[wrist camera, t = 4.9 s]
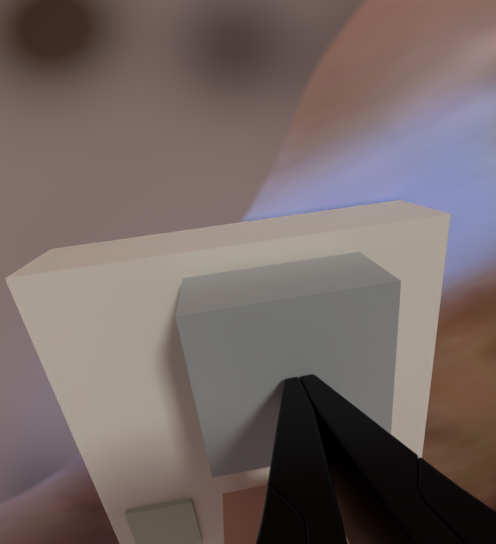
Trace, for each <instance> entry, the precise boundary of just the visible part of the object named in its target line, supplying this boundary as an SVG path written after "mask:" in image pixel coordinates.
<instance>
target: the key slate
mask: <svg viewBox="0 0 496 544" xmlns="http://www.w3.org/2000/svg"><path fill="white" fill-rule="evenodd" d="M400 290H401V280H399V279H398V278H396V277H395V276H394V275H392V274H391V273H389V272H388V271H386V270H385V269H383V268H382V267H381V266H379V265H378V264H376V263H375V262H373V261H372V260H371V259H369V258H368V257H366V256H365V255H363V254H362V253H361V252H354V253H348V254H341V255H334V256H327V257H321V258H314V259H307V260H301V261H294V262H287V263H281V264H274V265H267V266H261V267H254V268H247V269H241V270H234V271H227V272H220V273H214V274H207V275H200V276H194V277H187V278H183V280H182V285H181V290H180V295H179V300H178V305H177V310H176V315H175V317H176V321H177V326H178V330H179V335H180V339H181V343H182V348H183V352H184V356H185V361H186V365H187V370H188V374H189V378H190V383H191V387H192V391H193V396H194V400H195V405H196V409H197V413H198V418H199V422H200V426H201V431H202V435H203V440H204V444H205V448H206V453H207V457H208V461H209V466H210V470H211V474H212V478H213V477H218V476H223V475H229V474H234V473H239V472H245V471H250V470H255V469H261V468H266V467H270V464H271V458H272V452H273V446H274V439H275V433H276V427H277V421H278V414H279V408H280V402H281V395H282V389H283V383H284V380H285V379H286V378H292V377H298V378H300V376H304V375H309V374H314V375H316V376H317V377H318V378H320V379H321V380H322V381H323V382H325V383H326V384H327V385H329V386H330V387H331V388H332V389H334V390H335V391H336V392H338V393H339V394H340V395H341V396H343V397H344V398H345V399H347V400H348V401H349V402H350V403H352V404H353V405H354V406H356V407H357V408H358V409H359V410H361V411H362V412H363V413H364V414H366V415H367V416H368V417H370V418H371V419H372V420H373V421H375V422H376V423H377V424H379V425H380V426H381V427H382V428H384V429H385V430H386V431H388V432H389V433H390V434H391V426H392V411H393V396H394V381H395V366H396V350H397V335H398V320H399V305H400Z"/></svg>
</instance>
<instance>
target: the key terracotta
mask: <svg viewBox="0 0 496 544" xmlns="http://www.w3.org/2000/svg"><path fill="white" fill-rule="evenodd" d="M267 487H268V486H267V485H264V486H259V487H254V488H249V489H243V490H238V491H233V492H228V493H223V494H222V497H223V524H224V544H255V542H256V539H257V535H258V531H259V527H260V522H261V516H262V511H263V506H264V501H265V494H266V488H267ZM345 535H346V534H345ZM346 539H347V537H346ZM347 543H348V544H349V542H348V539H347Z"/></svg>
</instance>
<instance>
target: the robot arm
mask: <svg viewBox="0 0 496 544" xmlns="http://www.w3.org/2000/svg"><path fill="white" fill-rule="evenodd" d="M267 486H268V487H267V488H266V494H265V501H264V506H263V511H262V516H261V522H260V527H259V531H258V535H257V539H256V542H255V544H348V543H347V539H348V542H349V544H496V511H494V510H493V509H491V508H490V507H488V506H487V505H485V504H484V503H482V502H481V501H480V500H478V499H477V498H475V497H474V496H472V495H471V494H469V493H468V492H466V491H465V490H464V489H462V488H461V487H459V486H458V485H457V484H455V483H454V482H453V481H451V480H450V479H449V478H447V477H446V476H444V475H443V474H442V473H440V472H439V471H438V470H436V469H435V468H434V467H433V466H431V465H430V464H429V463H427V462H426V461H425V460H424V459H422V458H421V457H419V458H418V455H417V454H416V453H414V452H413V451H412V450H411V449H409V448H408V447H407V446H405V445H404V444H403V443H402V442H400V441H399V440H398V439H396V438H395V437H394V436H393V435H391V434H390V433H389V432H388V431H386V430H385V429H384V428H382V427H381V426H380V425H379V424H377V423H376V422H375V421H373V420H372V419H371V418H370V417H368V416H367V415H366V414H364V413H363V412H362V411H361V410H359V409H358V408H357V407H356V406H354V405H353V404H352V403H350V402H349V401H348V400H347V399H345V398H344V397H343V396H341V395H340V394H339V393H338V392H336V391H335V390H334V389H332V388H331V387H330V386H329V385H327V384H326V383H325V382H323V381H322V380H321V379H320V378H318V377H317V376H316V375H314V374H309V375H304V376H300V378H298V377H292V378H286V379H285V380H284V383H283V389H282V395H281V402H280V408H279V414H278V421H277V427H276V433H275V439H274V446H273V452H272V458H271V464H270V471H269V477H268V483H267ZM345 534H346V535H345ZM346 537H347V539H346Z"/></svg>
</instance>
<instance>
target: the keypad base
mask: <svg viewBox="0 0 496 544" xmlns="http://www.w3.org/2000/svg"><path fill="white" fill-rule="evenodd" d="M450 215H451V214H449V213H445V212H441V211H438V210H434V209H431V208H427V207H423V206H420V205H416V204H412V203H409V202H405V201H402V200H397V201H390V202H382V203H375V204H368V205H361V206H354V207H347V208H340V209H333V210H326V211H318V212H311V213H304V214H297V215H290V216H283V217H276V218H269V219H262V220H254V221H247V222H240V223H234V224H226V225H219V226H212V227H205V228H197V229H190V230H183V231H176V232H169V233H162V234H155V235H148V236H141V237H133V238H126V239H120V240H112V241H105V242H98V243H92V244H84V245H77V246H69V247H62V248H55V249H50V250H49V251H47V252H46V253H44V254H43V255H41V256H39V257H38V258H36V259H35V260H33V261H32V262H30V263H29V264H27V265H25V266H24V267H22V268H21V269H19V270H18V271H16V272H14V273H13V274H11V275H10V276H8V277H7V278H5V280H6V282H7V284H8V287H9V289H10V291H11V294H12V296H13V298H14V300H15V303H16V305H17V307H18V309H19V312H20V314H21V317H22V319H23V321H24V324H25V326H26V328H27V330H28V333H29V335H30V337H31V340H32V342H33V345H34V347H35V349H36V351H37V354H38V356H39V358H40V361H41V363H42V365H43V368H44V370H45V372H46V375H47V377H48V379H49V381H50V384H51V386H52V388H53V391H54V393H55V395H56V398H57V400H58V402H59V404H60V407H61V409H62V412H63V414H64V416H65V419H66V421H67V423H68V426H69V428H70V430H71V433H72V435H73V437H74V439H75V442H76V444H77V446H78V449H79V451H80V453H81V456H82V458H83V460H84V463H85V465H86V467H87V470H88V472H89V474H90V476H91V479H92V481H93V483H94V486H95V488H96V490H97V493H98V495H99V497H100V500H101V502H102V504H103V507H104V509H105V511H106V514H107V516H108V518H109V520H110V523H111V525H112V527H113V530H114V532H115V534H116V537H117V539H118V541H119V544H224V524H223V497H222V494H223V493H228V492H233V491H238V490H243V489H249V488H254V487H259V486H264V485H267V483H268V477H269V471H270V467H266V468H261V469H255V470H250V471H245V472H239V473H234V474H229V475H223V476H218V477H213V478H212V474H211V470H210V466H209V461H208V457H207V453H206V448H205V444H204V440H203V435H202V431H201V426H200V422H199V418H198V413H197V409H196V405H195V400H194V396H193V391H192V387H191V383H190V378H189V374H188V370H187V365H186V361H185V356H184V352H183V348H182V343H181V339H180V335H179V330H178V326H177V321H176V317H175V315H176V310H177V305H178V300H179V295H180V290H181V285H182V280H183V278H187V277H194V276H200V275H207V274H214V273H220V272H227V271H234V270H241V269H247V268H254V267H261V266H267V265H274V264H281V263H287V262H294V261H301V260H307V259H314V258H321V257H327V256H334V255H341V254H348V253H354V252H361V253H362V254H363V255H365V256H366V257H368V258H369V259H371V260H372V261H373V262H375V263H376V264H378V265H379V266H381V267H382V268H383V269H385V270H386V271H388V272H389V273H391V274H392V275H394V276H395V277H396V278H398V279H399V280H401V290H400V305H399V320H398V335H397V350H396V366H395V381H394V396H393V411H392V426H391V435H393V436H394V437H395V438H396V439H398V440H399V441H400V442H402V443H403V444H404V445H405V446H407V447H408V448H409V449H411V450H412V451H413V452H414V453H416V454H417V455H418V458H419V457H421V458H422V451H423V443H424V435H425V426H426V418H427V409H428V401H429V392H430V384H431V376H432V367H433V359H434V350H435V342H436V333H437V325H438V316H439V308H440V300H441V291H442V283H443V274H444V266H445V257H446V249H447V241H448V232H449V224H450Z"/></svg>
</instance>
